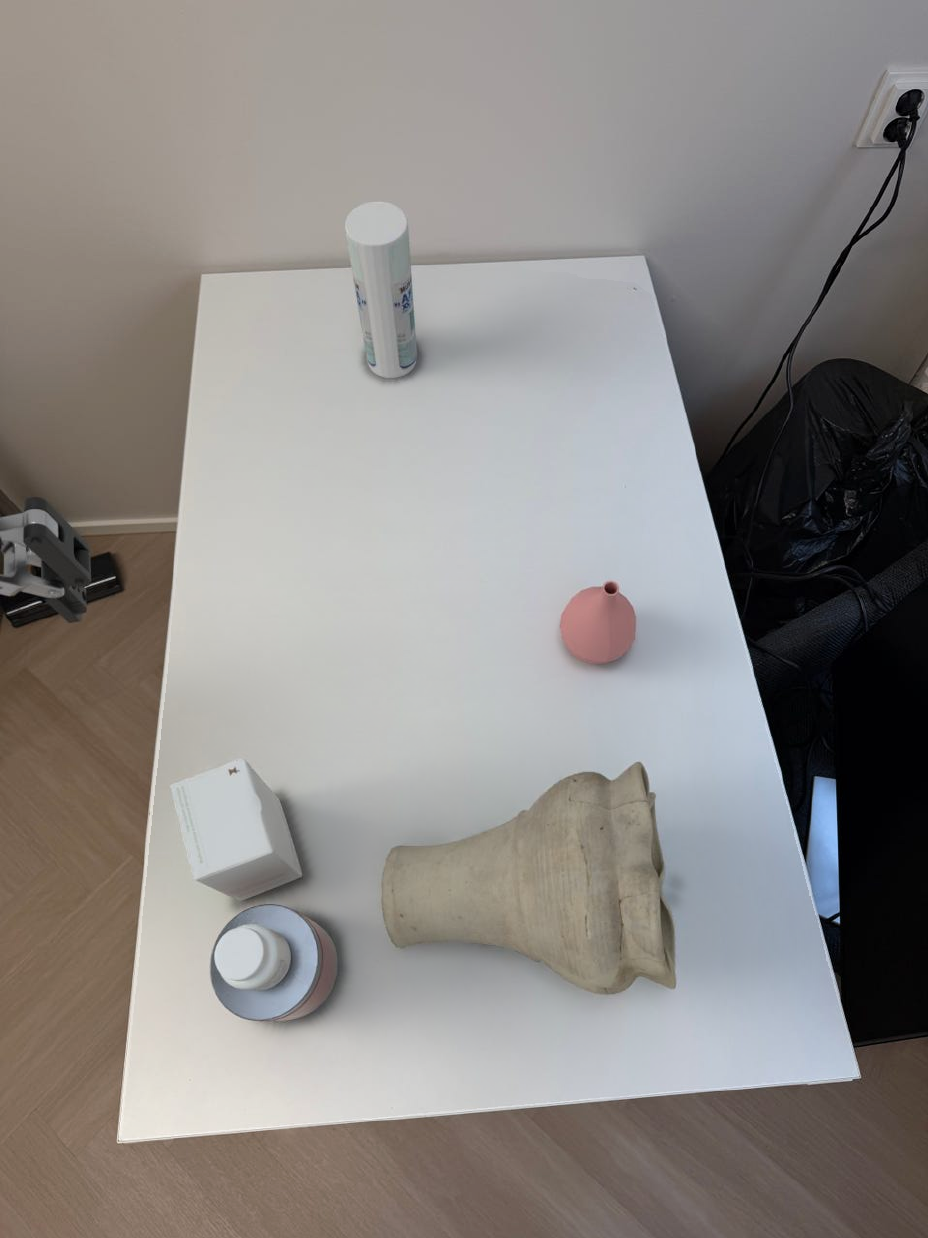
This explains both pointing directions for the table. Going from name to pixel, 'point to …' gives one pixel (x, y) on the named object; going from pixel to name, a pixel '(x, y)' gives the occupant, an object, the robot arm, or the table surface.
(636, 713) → the table surface
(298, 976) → the tin can
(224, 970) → the pill bottle
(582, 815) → the vase
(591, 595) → the pink bud vase
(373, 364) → the spray can
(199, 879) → the cosmetic box
